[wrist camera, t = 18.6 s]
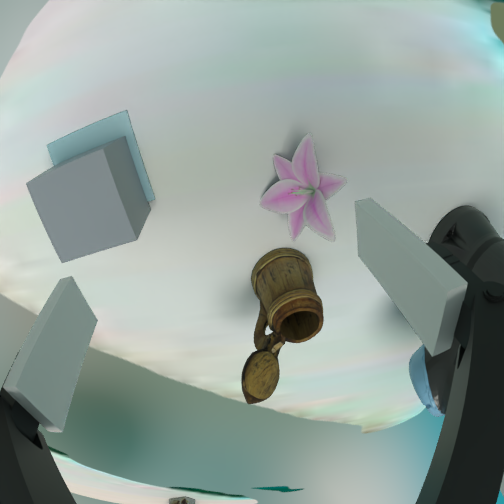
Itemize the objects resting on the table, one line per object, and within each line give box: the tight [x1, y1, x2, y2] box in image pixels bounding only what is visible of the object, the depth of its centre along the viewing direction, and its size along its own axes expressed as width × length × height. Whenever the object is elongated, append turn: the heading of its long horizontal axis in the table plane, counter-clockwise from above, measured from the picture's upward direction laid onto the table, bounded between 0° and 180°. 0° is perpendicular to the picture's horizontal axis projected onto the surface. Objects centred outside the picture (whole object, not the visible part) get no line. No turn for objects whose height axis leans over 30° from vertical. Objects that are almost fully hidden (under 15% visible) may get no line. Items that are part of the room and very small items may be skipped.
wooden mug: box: [242, 248, 323, 404], centre depth 39 cm, size 9×14×18 cm, turn 127°
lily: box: [260, 133, 348, 242], centre depth 37 cm, size 12×12×10 cm
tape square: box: [47, 110, 155, 202], centre depth 35 cm, size 12×12×1 cm
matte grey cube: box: [26, 136, 151, 263], centre depth 33 cm, size 10×10×9 cm
